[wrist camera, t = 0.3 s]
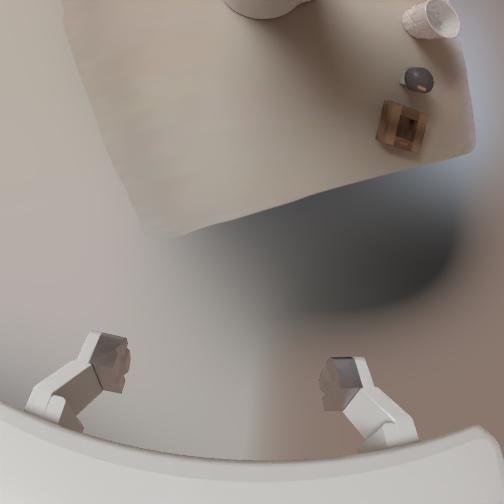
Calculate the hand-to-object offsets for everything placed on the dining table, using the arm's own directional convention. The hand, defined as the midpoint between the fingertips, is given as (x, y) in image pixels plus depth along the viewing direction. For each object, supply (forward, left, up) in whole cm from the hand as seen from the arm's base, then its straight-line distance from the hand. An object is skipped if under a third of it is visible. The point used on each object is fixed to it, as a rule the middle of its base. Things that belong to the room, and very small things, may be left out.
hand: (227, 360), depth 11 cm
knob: (-19, +29, -47) cm, 58 cm away
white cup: (-32, +29, -47) cm, 64 cm away
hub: (-9, +29, -47) cm, 56 cm away
